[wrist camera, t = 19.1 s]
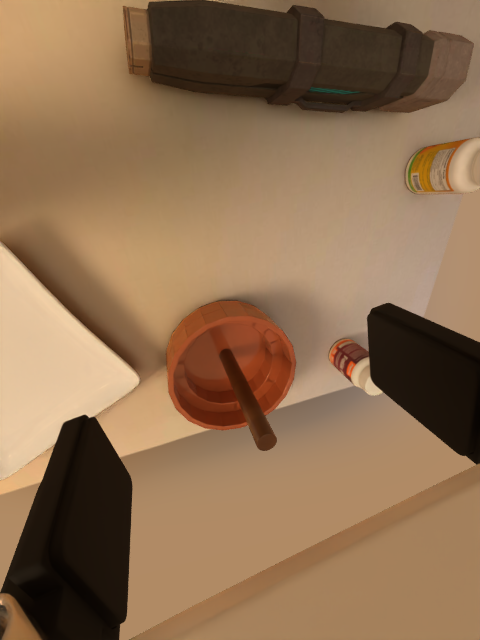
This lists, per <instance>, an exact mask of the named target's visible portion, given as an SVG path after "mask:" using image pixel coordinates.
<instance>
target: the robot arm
mask: <svg viewBox="0 0 480 640" xmlns="http://www.w3.org/2000/svg"><path fill="white" fill-rule="evenodd" d="M367 324H368V344H369V363H370V377H371V380H372V382H373V383H374V385H375V386H376V387H378V388H379V389H380V390H381V391H382V392H384V393H385V394H386V395H387V396H389V397H390V398H391V399H392V400H393V401H395V402H396V403H397V404H398V405H400V406H401V407H402V408H403V409H404V410H406V411H407V412H408V413H409V414H411V415H412V416H413V417H414V418H416V420H418V421H419V422H420V423H421V424H423V425H424V426H425V427H426V428H427V429H429V430H430V431H431V432H432V433H434V434H435V435H436V436H437V437H438V438H440V439H441V440H442V441H443V442H444V443H445V444H447V445H448V446H449V447H450V448H452V449H453V450H454V451H455V452H456V453H458V454H460V455H462V456H467V457H468V458H469V459H471V460H472V461H473V462H474V463H476V464H477V465H476V466H473V467H471V468H469V469H467V470H465V471H463V472H461V473H459V474H457V475H455V476H453V477H451V478H449V479H447V480H445V481H443V482H440V483H439V484H436V485H434V486H432V487H430V488H428V489H426V490H424V491H422V492H420V493H418V494H416V495H414V496H412V497H410V498H408V499H406V500H404V501H402V502H400V503H398V504H396V505H394V506H392V507H390V508H388V509H386V510H384V511H382V512H380V513H378V514H376V515H374V516H372V517H370V518H368V519H366V520H364V521H362V522H360V523H358V524H355V525H354V526H351V527H350V528H348V529H345V530H343V531H342V532H339V533H337V534H335V535H333V536H332V537H330V538H327V539H325V540H323V541H322V542H319V543H317V544H315V545H313V546H311V547H309V548H307V549H305V550H303V551H301V552H299V553H297V554H295V555H293V556H291V557H289V558H287V559H285V560H283V561H281V562H279V563H278V564H275V565H274V566H272V567H270V568H268V569H266V570H264V571H262V572H260V573H258V574H256V575H254V576H252V577H250V578H248V579H246V580H244V581H242V582H240V583H238V584H236V585H234V586H232V587H230V588H228V589H226V590H224V591H222V592H220V593H218V594H216V595H214V596H212V597H210V598H208V599H206V600H204V601H202V602H200V603H198V604H196V605H194V606H192V607H190V608H188V609H187V610H185V611H183V612H181V613H179V614H177V615H175V616H173V617H171V618H169V619H168V620H166V621H164V622H162V623H160V624H158V625H156V626H154V627H153V628H150V629H148V630H147V631H145V632H143V633H141V634H139V635H137V636H135V637H133V638H131V639H129V640H480V342H477V341H475V340H473V339H471V338H468V337H466V336H464V335H461V334H459V333H457V332H455V331H452V330H450V329H448V328H445V327H443V326H441V325H439V324H436V323H434V322H431V321H430V320H427V319H425V318H423V317H420V316H418V315H416V314H414V313H411V312H409V311H407V310H405V309H402V308H400V307H398V306H395V305H393V304H391V303H386V304H383V305H380V306H377V307H375V308H372V309H371V311H370V314H369V315H368V317H367ZM131 506H132V481H131V477H130V475H129V473H128V471H127V470H126V468H125V466H124V464H123V463H122V461H121V459H120V458H119V456H118V454H117V453H116V451H115V449H114V448H113V446H112V444H111V443H110V441H109V439H108V438H107V436H106V434H105V433H104V431H103V429H102V428H101V426H100V424H99V422H98V421H97V419H96V418H95V417H90V418H89V417H88V416H87V415H82V416H79V417H76V418H73V419H71V420H68V421H65V422H64V423H63V425H62V427H61V430H60V433H59V435H58V438H57V441H56V444H55V447H54V449H53V452H52V455H51V458H50V460H49V463H48V466H47V469H46V472H45V474H44V477H43V480H42V482H41V484H40V486H39V488H38V491H37V493H36V496H35V499H34V502H33V504H32V507H31V510H30V512H29V516H28V518H27V521H26V523H25V526H24V529H23V532H22V535H21V537H20V540H19V543H18V546H17V548H16V551H15V554H14V557H13V560H12V562H11V565H10V567H9V570H8V573H7V576H6V578H5V581H4V584H3V587H2V589H1V592H0V640H119V632H120V624H121V623H123V622H124V621H125V619H126V616H127V601H128V577H129V554H130V529H131Z"/></svg>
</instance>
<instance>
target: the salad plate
mask: <svg viewBox="0 0 480 640" xmlns="http://www.w3.org/2000/svg"><path fill="white" fill-rule="evenodd" d="M139 383H140V376H139V374H138V373H137V372H136V371H135V370H134V369H133V368H132V367H131V366H130V365H129V364H128V363H127V362H126V361H124V360H123V359H122V358H121V357H120V356H119V355H118V354H116V353H115V352H114V351H113V350H112V349H111V348H109V347H108V346H107V345H106V344H105V343H103V342H102V341H101V340H100V339H99V338H98V337H97V336H96V335H95V334H93V333H92V332H91V331H90V330H89V329H88V328H87V327H86V326H85V325H83V324H82V323H81V322H80V321H79V320H78V319H77V318H76V317H75V316H74V315H73V314H72V313H71V312H70V311H69V310H68V309H67V308H66V307H65V306H64V305H63V304H62V303H61V302H60V301H59V300H58V299H57V298H56V297H55V296H54V295H53V294H52V293H51V292H50V291H49V290H48V289H47V288H46V287H45V286H44V285H43V284H42V283H41V282H40V281H39V280H38V279H37V278H36V277H35V275H34V274H33V273H32V272H31V271H30V270H29V269H28V268H27V267H26V266H25V265H24V264H23V263H22V262H21V261H20V260H19V259H18V258H17V257H16V256H15V255H14V254H13V253H12V252H11V251H10V250H9V249H8V248H7V247H6V246H5V245H4V244H3V243H2V242H1V241H0V480H4V479H6V478H8V477H10V476H11V475H13V474H14V473H16V472H18V471H19V470H20V469H22V468H23V467H25V466H26V465H27V464H29V463H30V462H31V461H33V460H34V459H35V458H37V457H38V456H39V455H41V454H42V453H44V452H45V451H46V450H48V449H49V448H51V447H52V446H53V445H55V444H56V441H57V438H58V435H59V433H60V430H61V427H62V425H63V423H64V422H65V421H68V420H71V419H73V418H76V417H79V416H82V415H87V416H88V417H89V418H90V417H94V416H96V415H97V414H99V413H100V412H102V411H103V410H105V409H106V408H108V407H109V406H111V405H112V404H114V403H115V402H117V401H118V400H120V399H121V398H123V397H124V396H125V395H127V394H128V393H130V392H131V391H132V390H133V389H135V388H136V387H137V385H138V384H139Z"/></svg>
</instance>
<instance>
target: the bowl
mask: <svg viewBox="0 0 480 640" xmlns="http://www.w3.org/2000/svg"><path fill="white" fill-rule="evenodd" d="M223 349H230V350H231V351H232V353H233V355H234V357H235V359H236V360H237V362H238V364H239V366H240V368H241V370H242V372H243V374H244V376H245V378H246V380H247V382H248V384H249V386H250V388H251V390H252V391H253V393H254V395H255V397H256V399H257V401H258V403H259V405H260V407H261V409H262V411H263V413H264V415H265V416H266V415H267V414H269V413H270V412H272V411H273V410H274V409H275V408H276V407H277V406H278V405H279V403H280V402H281V401H282V400H283V399H284V398H285V396H286V395H287V393H288V391H289V388H290V386H291V384H292V382H293V380H294V374H295V367H296V360H295V355H294V350H293V346H292V344H291V343H290V341H289V340H288V338H287V336H286V335H285V333H284V332H283V331H282V330H281V329H280V328H279V327H278V326H277V325H276V324H275V323H274V322H273V321H272V320H271V319H270V317H269V316H268V315H266V314H265V313H264V312H262V311H261V310H259V309H258V308H257V307H255V306H254V305H250V304H247V303H243V302H240V301H217V302H214V303H211V304H208V305H205V306H203V307H200V308H198V309H197V310H195V311H194V312H193V313H191V314H190V315H188V316H187V317H186V318H184V319H183V320H182V322H181V323H180V324H179V326H178V327H177V328H176V330H175V331H174V332H173V334H172V335H171V338H170V341H169V344H168V347H167V350H166V364H167V378H168V390H169V395H170V397H171V399H172V401H173V403H174V406H175V408H176V409H177V410H178V411H179V412H180V413H181V414H182V415H183V416H184V417H185V418H186V419H187V420H188V421H190V422H192V423H194V424H197V425H199V426H201V427H203V428H207V429H216V430H229V429H236V428H241V427H244V426H247V425H248V424H247V421H246V419H245V417H244V414H243V412H242V410H241V407H240V405H239V402H238V400H237V398H236V395H235V393H234V390H233V388H232V386H231V383H230V381H229V379H228V376H227V374H226V371H225V369H224V367H223V364H222V362H221V360H220V357H219V354H220V352H221V351H222V350H223Z"/></svg>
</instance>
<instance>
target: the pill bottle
mask: <svg viewBox="0 0 480 640" xmlns="http://www.w3.org/2000/svg"><path fill="white" fill-rule="evenodd" d="M329 360H330V362H331V363H332V364H333V365H334V366H335V367H336V368H337V369H338V370H339V371H340V372H341V373H342V374H343V375H344V376H345V377H346V378H347V379H348V380H349V381H350V382H351V383H353V384H354V385H355V386H357V387H360V388H362V389H363V390H364V391H365V392H366V393H368V394H370V395H378V394H381V393H383V392H382V391H381V390H380V389H379V388H378V387H376V386H375V385H374V383H373V382H372V380H371V377H370V363H369V352H368V351H367V350H365V349H364V348H362V347H361V346H360V345H358V344H357V343H356V342H354V341H353V340H351V339H342V340H340V341H338V342H336V343H335V344H334V345H333V346H332V348H331V350H330V352H329Z"/></svg>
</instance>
